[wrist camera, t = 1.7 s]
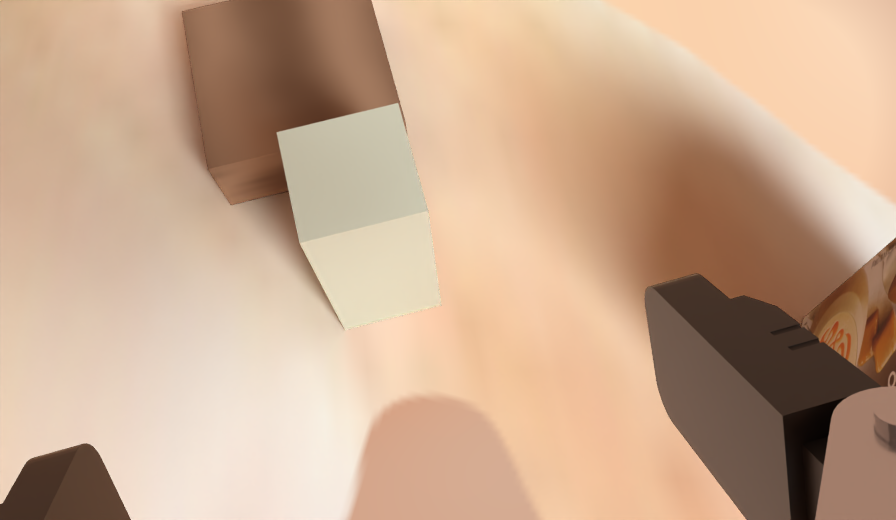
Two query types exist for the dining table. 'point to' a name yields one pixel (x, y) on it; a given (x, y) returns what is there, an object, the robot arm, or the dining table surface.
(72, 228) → the dining table surface
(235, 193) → the walnut plinth
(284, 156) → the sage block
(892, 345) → the coffee box
